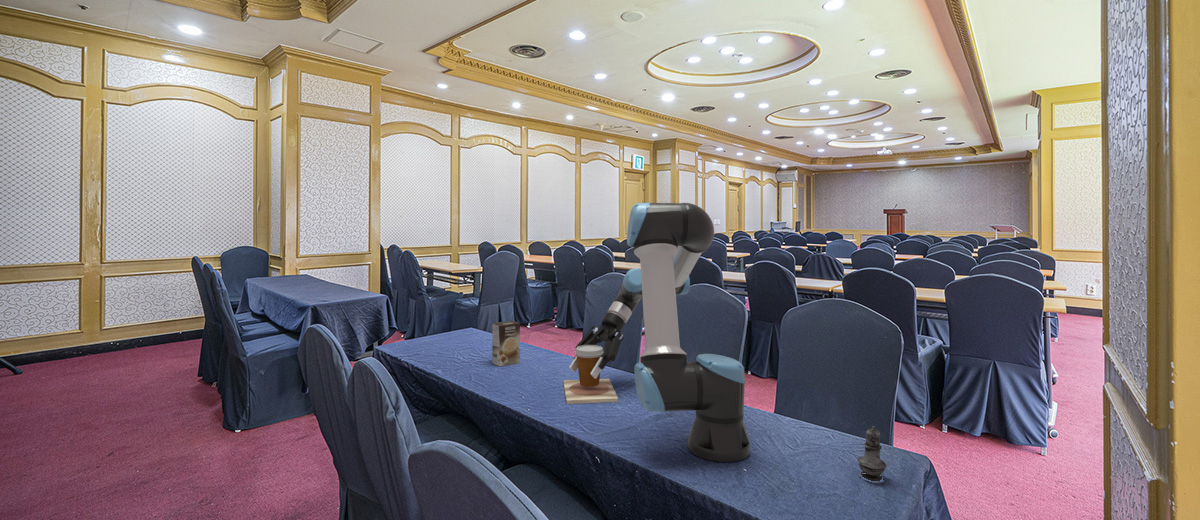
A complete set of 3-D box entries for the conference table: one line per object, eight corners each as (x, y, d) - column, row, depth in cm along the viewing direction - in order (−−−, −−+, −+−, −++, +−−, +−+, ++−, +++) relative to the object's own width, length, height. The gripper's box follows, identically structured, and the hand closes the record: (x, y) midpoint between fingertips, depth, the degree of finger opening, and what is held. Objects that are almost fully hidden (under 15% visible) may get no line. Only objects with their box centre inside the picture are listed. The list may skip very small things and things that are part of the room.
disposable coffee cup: (600, 389, 171) (600, 352, 170) (571, 387, 172) (571, 350, 171) (606, 380, 180) (606, 345, 179) (578, 378, 182) (578, 343, 181)
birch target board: (617, 401, 167) (617, 397, 167) (566, 403, 166) (566, 399, 165) (609, 382, 187) (609, 378, 187) (563, 383, 185) (563, 379, 185)
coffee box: (500, 367, 205) (499, 325, 204) (491, 363, 210) (491, 323, 209) (520, 362, 211) (520, 322, 210) (512, 359, 216) (511, 320, 215)
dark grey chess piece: (853, 478, 119) (856, 426, 118) (859, 468, 124) (862, 418, 123) (883, 487, 116) (885, 433, 115) (888, 476, 120) (891, 424, 119)
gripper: (645, 329, 178) (612, 386, 168) (599, 320, 193) (566, 372, 183) (635, 315, 173) (600, 373, 164) (588, 307, 189) (554, 359, 179)
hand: (582, 372), depth 174 cm, fingers closed on disposable coffee cup, 9 cm apart
